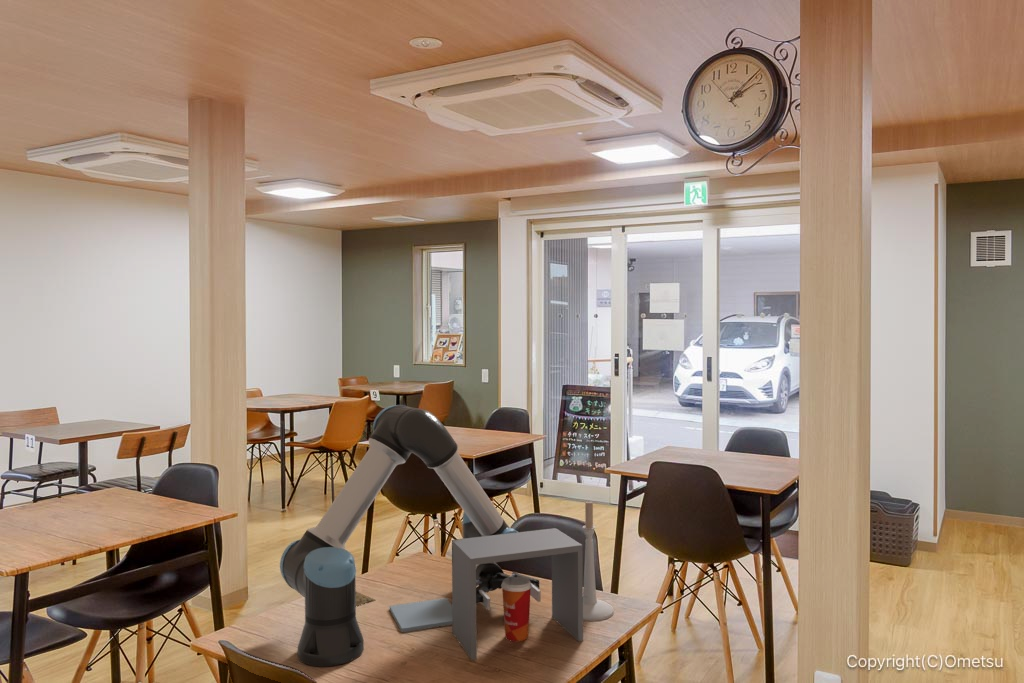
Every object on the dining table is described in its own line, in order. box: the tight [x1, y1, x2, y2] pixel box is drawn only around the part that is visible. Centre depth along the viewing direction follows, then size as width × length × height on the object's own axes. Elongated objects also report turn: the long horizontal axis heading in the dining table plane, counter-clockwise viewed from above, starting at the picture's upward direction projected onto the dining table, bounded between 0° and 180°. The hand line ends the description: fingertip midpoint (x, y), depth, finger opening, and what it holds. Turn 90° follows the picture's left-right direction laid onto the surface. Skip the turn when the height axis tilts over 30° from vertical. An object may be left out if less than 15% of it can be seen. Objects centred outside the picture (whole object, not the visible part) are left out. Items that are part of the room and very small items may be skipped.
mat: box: [389, 597, 453, 633], centre depth 194 cm, size 16×16×1 cm
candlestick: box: [582, 500, 615, 622], centre depth 196 cm, size 13×13×30 cm
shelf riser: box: [451, 527, 584, 661], centre depth 181 cm, size 28×16×24 cm, turn 110°
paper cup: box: [501, 576, 532, 642], centre depth 181 cm, size 8×8×14 cm
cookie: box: [356, 591, 376, 607], centre depth 206 cm, size 12×12×1 cm
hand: (514, 600), depth 184 cm, fingers open, 13 cm apart
